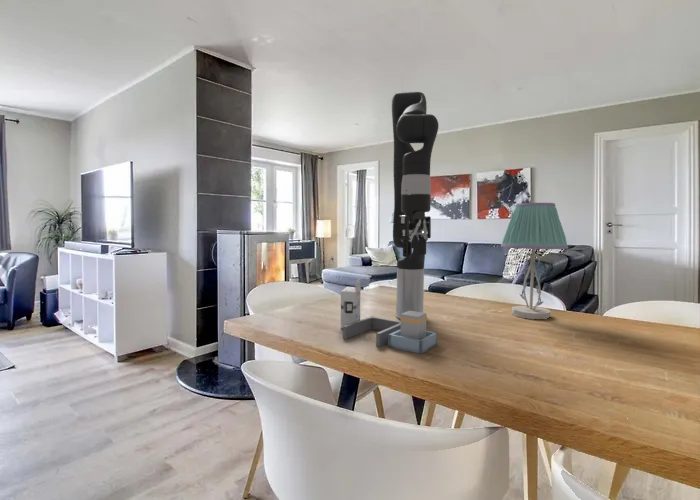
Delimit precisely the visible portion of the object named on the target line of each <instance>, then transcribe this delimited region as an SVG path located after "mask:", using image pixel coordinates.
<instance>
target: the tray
mask: <svg viewBox="0 0 700 500" xmlns="http://www.w3.org/2000/svg"><path fill="white" fill-rule="evenodd" d="M400 334H401V329H400V330H398V331H395V332H393V333H391V334H389V335H388V343H387V344H388V346H387V347H389V348H392V349H398V350H402V351H406V352H410V353H415V354H418V355H422V354H424V353H426V352H428V351H429V350H430V349H432V348H434V347H435V346H437V345H438V332H435V331H430V330H426V337H425V338H423V339H422V340H417V339H412V338H407V337H403V336H400Z"/></svg>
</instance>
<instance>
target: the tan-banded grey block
mask: <svg viewBox="0 0 700 500" xmlns="http://www.w3.org/2000/svg"><path fill="white" fill-rule="evenodd" d="M427 316H428V315H427V312H423V313H422V312H416V311H407V312H405V313H402V314H401V319H399V320H400V322H401V334H400V336H403V337H407V338H412V339H417V340H422V339H423V338H425V337H426V331H427V320H428V319H427V318H428V317H427Z"/></svg>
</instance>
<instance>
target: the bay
mask: <svg viewBox="0 0 700 500" xmlns="http://www.w3.org/2000/svg"><path fill="white" fill-rule="evenodd" d="M400 329H401V321H398V320H395V319H388V318H382V317H378V316H372V315H371V316H369V317H366V318H362V319H360V320H359V321H357V322H354V323H351V324H348V325H345V326H343V328H342V335H343V336H342V339H345V340H347V339H350V338H351V337H354V336H356V335H360V334H362V333H364V332H367V331H370V330H378V331H377V332H376V333H375V334H376V335H375V338H376V339H375V346H376V347H378V348H381V347H382V346H384V345H386V344H388V335H389V334H391V333H393V332H395V331H398V330H400Z"/></svg>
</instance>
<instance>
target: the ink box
mask: <svg viewBox="0 0 700 500" xmlns="http://www.w3.org/2000/svg"><path fill="white" fill-rule="evenodd" d="M354 283H355V286H345V288H343V289H342V290H341V291H340V329H343V326H345V325H348V324H351V323H354V322H357V321H359V320H361V289H362V288H361V287H362V286H361V283H362V281H361V278H358V279H357V280H356V281H355V282H354Z"/></svg>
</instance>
